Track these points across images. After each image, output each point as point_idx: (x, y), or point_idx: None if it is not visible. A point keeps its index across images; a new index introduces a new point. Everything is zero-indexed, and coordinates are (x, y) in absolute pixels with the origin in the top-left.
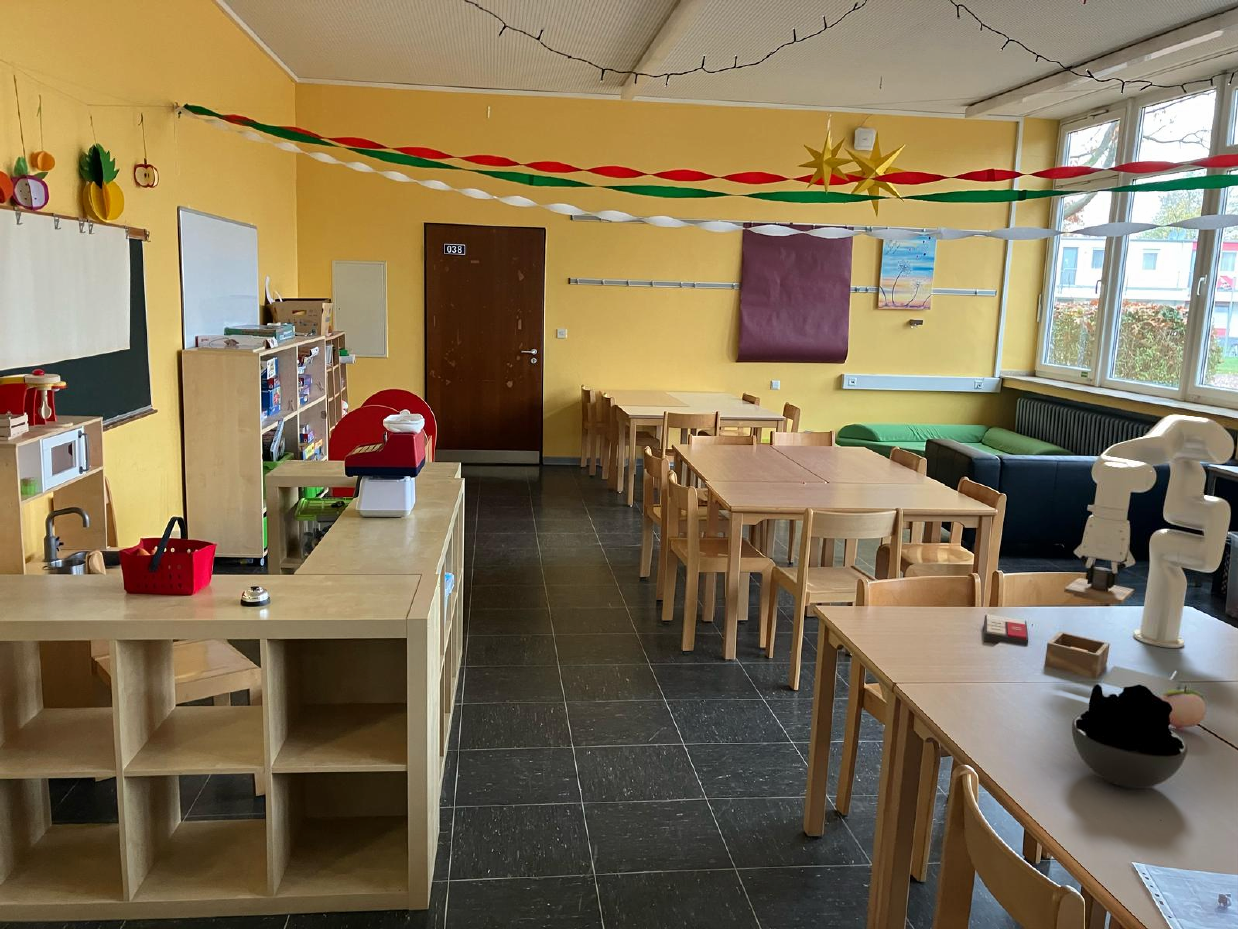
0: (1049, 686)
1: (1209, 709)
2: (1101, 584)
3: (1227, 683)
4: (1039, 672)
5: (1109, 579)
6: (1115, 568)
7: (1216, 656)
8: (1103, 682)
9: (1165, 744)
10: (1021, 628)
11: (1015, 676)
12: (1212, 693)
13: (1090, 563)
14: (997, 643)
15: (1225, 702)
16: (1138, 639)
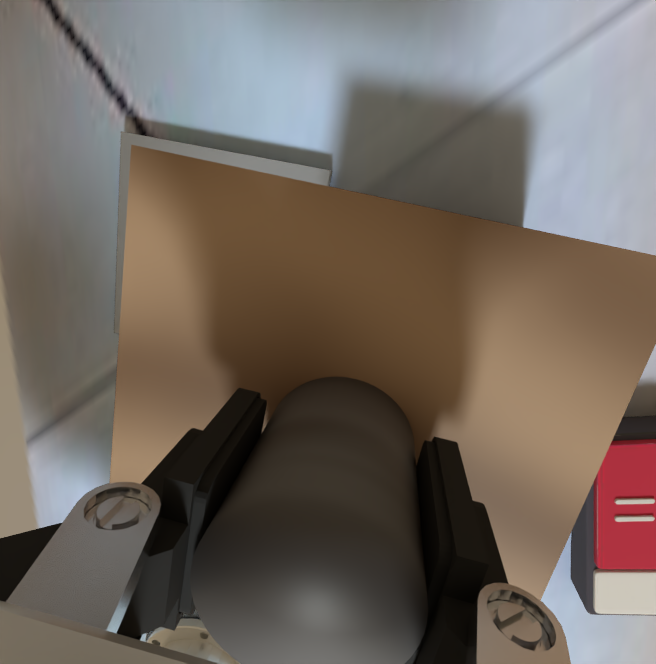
0: (508, 39)
1: (30, 167)
2: (318, 405)
3: (25, 424)
4: (540, 186)
5: (225, 434)
6: (83, 540)
7: None
8: (321, 173)
9: None
10: (616, 518)
11: (641, 71)
12: (43, 319)
13: (500, 655)
14: None
15: (6, 262)
16: None
